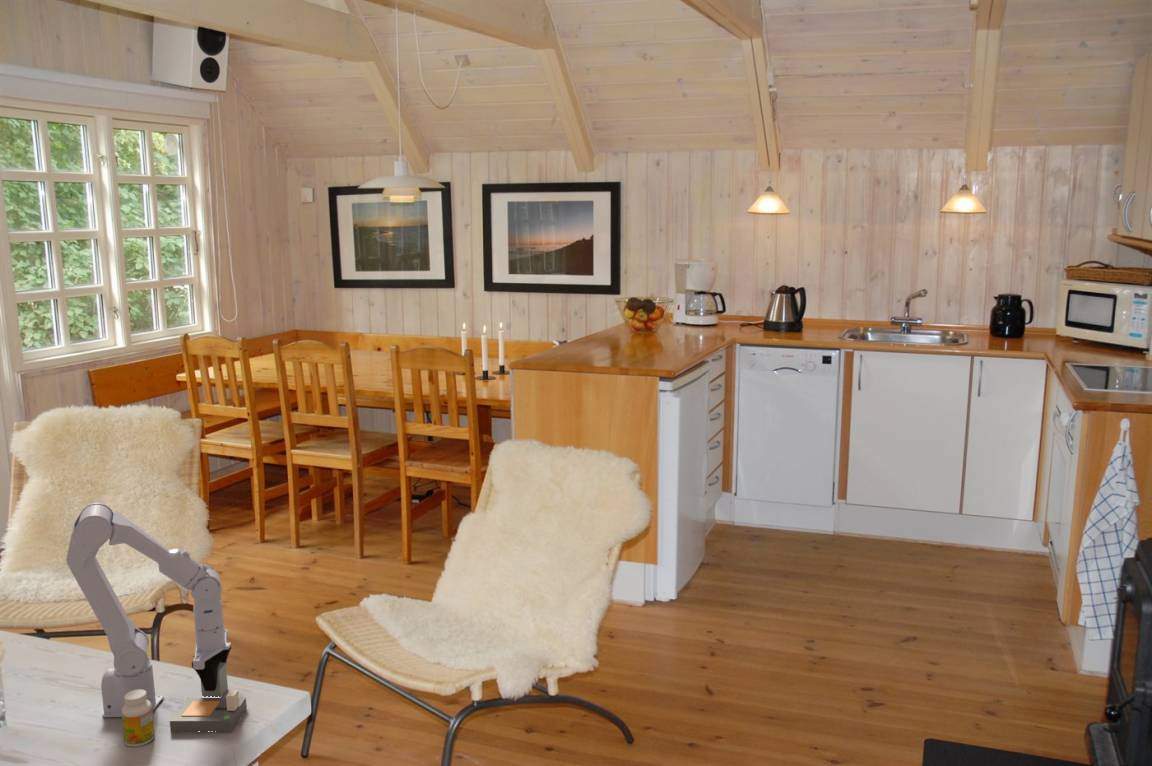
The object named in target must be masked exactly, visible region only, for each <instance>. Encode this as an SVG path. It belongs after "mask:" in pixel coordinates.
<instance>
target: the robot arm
mask: <svg viewBox="0 0 1152 766" xmlns="http://www.w3.org/2000/svg"><path fill="white" fill-rule="evenodd" d="M79 513H80V514H79V515H78V516H77V518H76V519H75V521H74V524H73V527H72V531H71V535H70V540H69V546H68V550H67V555H66V559H65V560H66V564H67V566H68V568H69V570H70V572H71V574H72V575H73V577H74V579H75V581H76V583H77V585H78V586H79V588H80V590H81V591H82V594H83V595H84V597H85V599H86V600H87V602H88V604H89V606H90V607H91V609H92V612H93V613H94V616H96V618H97V620H98V622H99V625H100V626H101V627H102V629H103V631H104V633H105V635H106V637H107V641H108V645H109V649H110V651H111V653H112V655H113V666H112V667H108V668H107V669H106V670H105V671H104V673H103V675H102V679H101V683H100V685H101V686H100V689H101V697H102V698H101V699H102V707H103V713H102V714H101V717H102V718H122V708H123V706H124V705H125V702H124V696H125V694H126V693H128V692H130V691H133V690H137V689H142V690H145V691H146V693H147V700H149V701H150V702H151V704H152V712H154V710H155V709H156V708H157V707H158V705H159V704H160V703H161V702H162V701H163V699H164V695H156V690H155V689H156V688H155V680H154V670H153V662H152V660H151V659H150V658H149V655H148V652H149V651H148V648H149V645H150V644H149V643H150V640H149V637H148V635H147V634H146V632H144V631H142V630H141V629H140V628H138V627H137V625H136V623H135V622H134V621H133V620H132V619H130V618H129V616H128V615H127V612H126V611H125V608H124V606H123V605H122V602H120V600H119V597H118V595H117V594H116V592H115V590H114V588H113V587H112V585H111V583H110V581H109V579H108V577H107V575H106V574H105V572H104V570H103V568H102V567H101V565H100V563H99V561H98V559H97V557H96V556H97V554H98V552H99V550H100V548H102V547H103V545H105V544H106V543H107V541H108V540H109V542H108V543H109V544H108V545H109V546H115V545H116V546H117V545H122V544H125V545H127V546H129V547H130V548H132V549H133V550H136V551H137V552H139V553H140V554H141V555H144V556H146V557H147V558H149V559H150V560H152V561H154V562H155V563H157V564H158V572H159V573H161V574H163V575H164V576H165V577H167V578H168V579H170V580H171V581H173V582H174V583H176V584H177V585H179V586H180V587H182V588H183V589H186V590H189V591H190V595H191V597H192V598H193V603H194V604H193V608H192V612H193V619H194V622H193V623H194V631H195V632H194V633H195V653H194V658H193V660H192V662H191V668H192V669H193V670H194V671H195V672H196V673H197V675H198V677H199V679H200V683H201V682H202V684H203V687H204V689H205V691H215V689H216V685H217V672H218V667H219V664H220V663H226V664H227V662H228V658H229V654H230V652H231V650H232V643H231V642H227V640H228V639H229V637H230V636H229V630H228V629H225V625H224V624H225V623H224V609H223V603H222V601H221V600H222V595H221V594H222V590H223V587H222V586H221V584H222V583H221V578H220V574H219V573H218V572H217V570H215V568H214V567H213V566H209V565H207V564H206V563H203V564H202V563H200V562H199V561H197V560H196V559H195V558H193V557H191V556H190V555H191V553H190V551H188V550H187V549H183V550H181V549H180V548H167V547H166V546H164V545H163V544H162V543H160V542H159V541H158V540H157V539H155V538H154V537H153V536H152V535H150V534H149V533H147V532H146V531H144V530H143V529H141V528H140V526H138V525H136V524H135V523H134V522H133V521H131V520H130V519H128V518H127V517H126V516H125V515H123V514H122V513H120V512H119V511H117V510H112V508H111V507H110V506H108V505H107V504H105V503H102V502H94V503H93V502H92V503H90V504H88V505H85V507H83V508H82V510H81V511H80V512H79Z"/></svg>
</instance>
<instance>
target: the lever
mask: <svg viewBox="0 0 1152 766" xmlns="http://www.w3.org/2000/svg"><path fill="white" fill-rule="evenodd" d="M225 698H226V702H227V711H235V710H236V709H237V707H238V706H239V698H240V696H239V689H230V690H229V691H228V693H227V694H226V695H225Z"/></svg>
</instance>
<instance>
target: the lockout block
mask: <svg viewBox="0 0 1152 766" xmlns="http://www.w3.org/2000/svg"><path fill="white" fill-rule="evenodd" d="M227 688H228V689H229V686H228V674H227V662H226V663H220V664H219V667H218V672H217V685H216V689H215V691H205V689H204V687H203V684H202V682H201V681H200V689H201V697H202V696H204V697H206V696H208V697H210V696H212V697H214V696H215V697H218V696H219V697H221V696H222V695H223V696H224V694H225V693H226V692H227V690H228V689H227ZM226 689H227V690H226ZM225 691H226V692H225ZM224 692H225V693H224ZM223 693H224V694H223ZM223 696H222V697H223ZM222 697H221V698H222Z"/></svg>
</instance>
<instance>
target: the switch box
mask: <svg viewBox="0 0 1152 766" xmlns="http://www.w3.org/2000/svg"><path fill="white" fill-rule="evenodd" d="M246 708H247V697H239V706H238V707H237V709H236V710H235V711H227V702H226V697H221V698H202V697H187V699H186V700H185V701H184V702H183V704H182V705H181V706H180V707H179V708H178V710H176V713H174V715H173V716H172V718H171V719H170V720H169V728H170V733H171V732H194V733H232V732H233V730H234V729H235V727H236V725H238V723H239V721H240V719H241V718H242V716H243V715H244V713H245V712H246V710H247V709H246ZM244 711H245V712H244ZM242 714H243V715H242ZM240 717H241V718H240ZM238 720H239V721H238ZM198 731H200V732H198ZM208 731H210V732H208ZM211 731H213V732H211ZM215 731H216V732H215ZM231 731H232V732H231Z"/></svg>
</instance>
